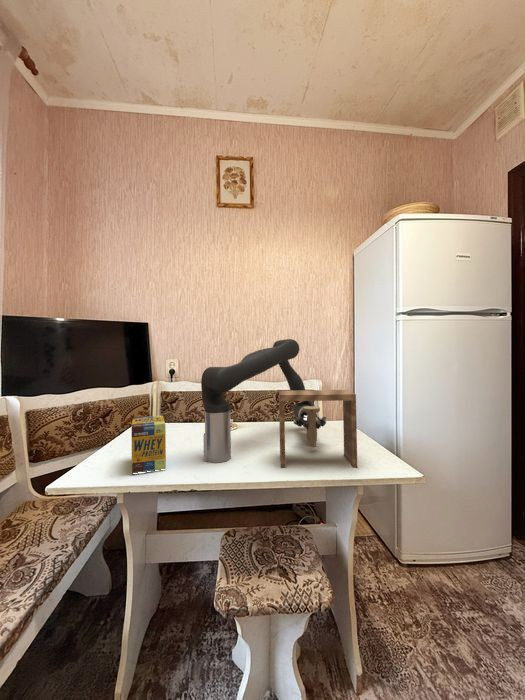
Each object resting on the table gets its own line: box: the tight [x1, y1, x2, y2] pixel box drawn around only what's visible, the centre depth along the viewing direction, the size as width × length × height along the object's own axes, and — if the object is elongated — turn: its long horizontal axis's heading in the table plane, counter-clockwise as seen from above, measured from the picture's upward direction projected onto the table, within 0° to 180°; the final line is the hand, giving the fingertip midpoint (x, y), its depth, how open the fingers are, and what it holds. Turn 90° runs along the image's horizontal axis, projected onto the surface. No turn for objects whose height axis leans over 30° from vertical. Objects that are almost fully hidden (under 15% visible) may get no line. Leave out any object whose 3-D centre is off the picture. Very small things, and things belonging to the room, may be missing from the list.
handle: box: [303, 405, 321, 448], centre depth 114 cm, size 5×6×15 cm
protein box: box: [130, 415, 167, 474], centre depth 103 cm, size 10×15×16 cm
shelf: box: [278, 389, 358, 469], centre depth 103 cm, size 25×12×24 cm, turn 88°
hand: (312, 426), depth 112 cm, fingers closed on handle, 3 cm apart
